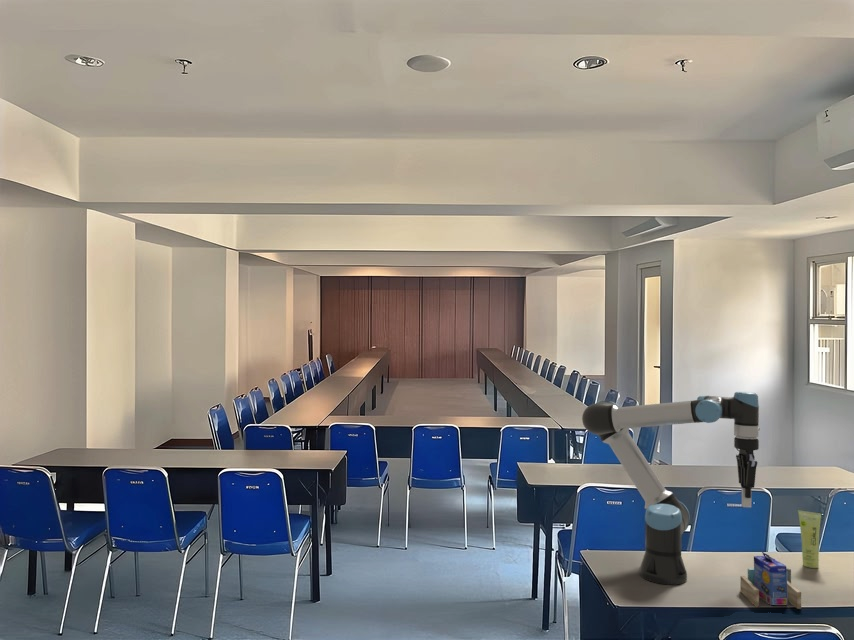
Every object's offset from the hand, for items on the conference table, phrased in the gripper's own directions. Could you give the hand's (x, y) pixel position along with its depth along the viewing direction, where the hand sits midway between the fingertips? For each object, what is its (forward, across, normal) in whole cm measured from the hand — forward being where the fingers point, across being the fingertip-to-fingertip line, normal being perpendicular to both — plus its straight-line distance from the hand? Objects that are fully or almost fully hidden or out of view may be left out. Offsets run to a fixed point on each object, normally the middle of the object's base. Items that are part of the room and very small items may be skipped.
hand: (746, 506), depth 224 cm
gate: (+24, -11, -3) cm, 27 cm away
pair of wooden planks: (+24, -18, 0) cm, 30 cm away
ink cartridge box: (+25, -18, -1) cm, 30 cm away
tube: (+25, +17, -28) cm, 41 cm away
